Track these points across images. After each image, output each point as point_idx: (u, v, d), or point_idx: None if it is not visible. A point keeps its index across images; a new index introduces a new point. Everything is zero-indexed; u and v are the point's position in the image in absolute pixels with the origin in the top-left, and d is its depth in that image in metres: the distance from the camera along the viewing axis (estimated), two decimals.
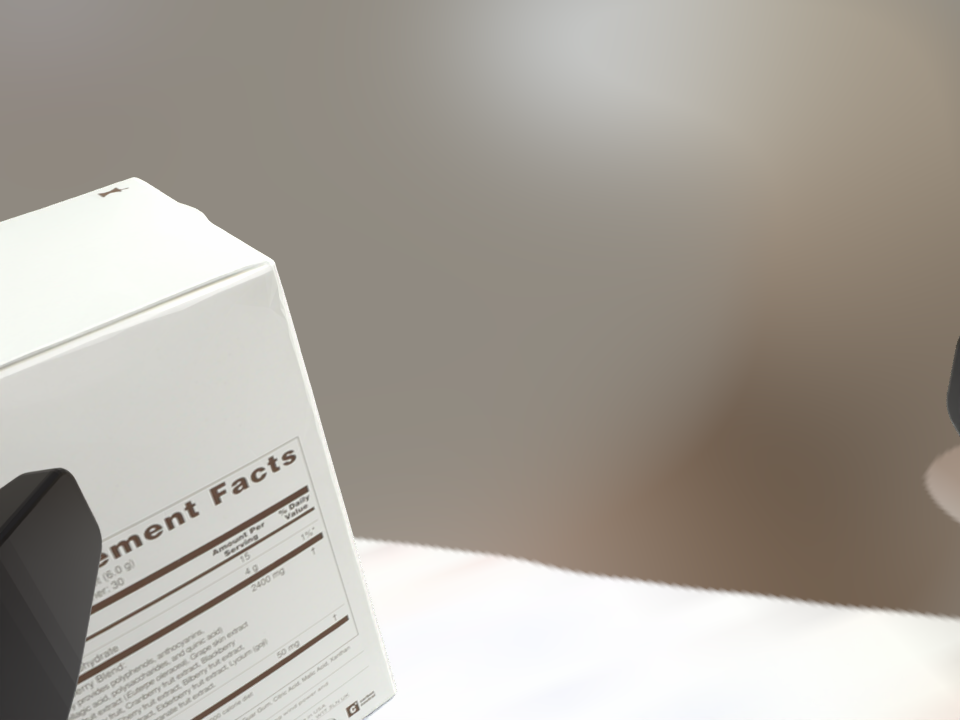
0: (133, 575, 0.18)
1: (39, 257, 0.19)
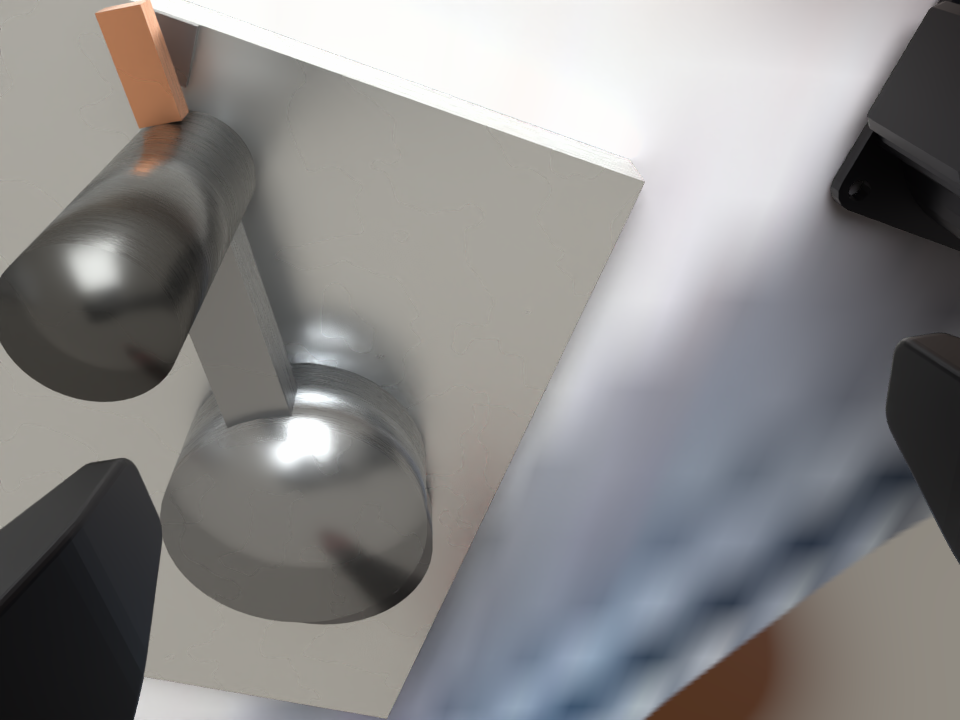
0: None
1: None
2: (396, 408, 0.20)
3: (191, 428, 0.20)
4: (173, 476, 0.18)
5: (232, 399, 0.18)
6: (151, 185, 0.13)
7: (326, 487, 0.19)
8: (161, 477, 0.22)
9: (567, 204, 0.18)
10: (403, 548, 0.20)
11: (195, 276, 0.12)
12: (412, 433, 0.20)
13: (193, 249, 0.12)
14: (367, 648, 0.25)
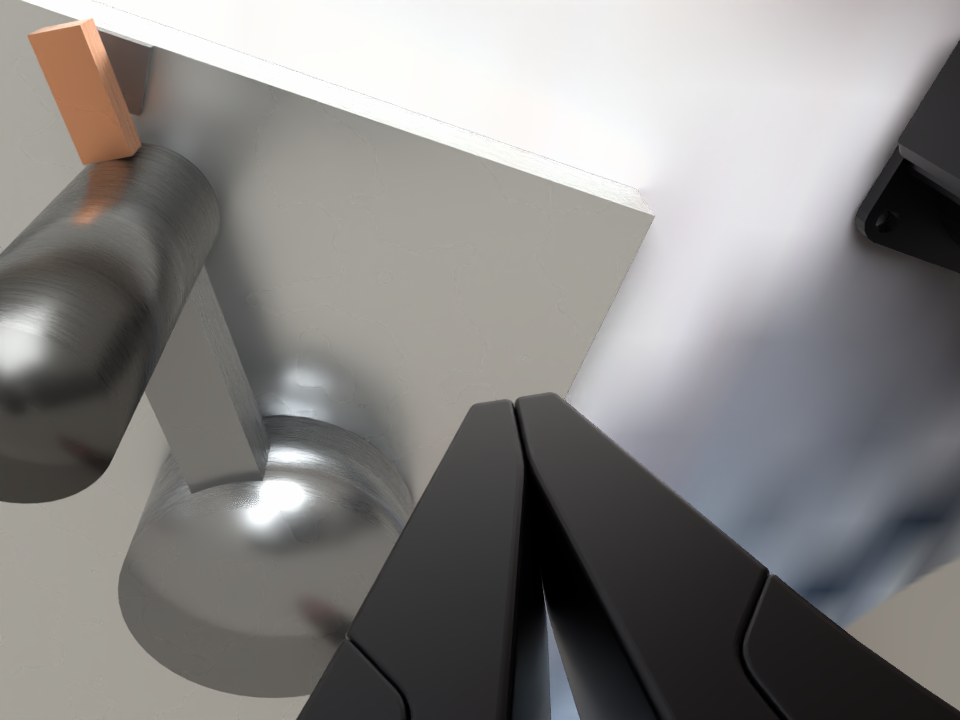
0: None
1: None
2: (381, 463, 0.18)
3: (153, 488, 0.18)
4: (131, 547, 0.16)
5: (196, 463, 0.16)
6: (88, 241, 0.11)
7: (303, 556, 0.17)
8: (123, 537, 0.20)
9: (569, 241, 0.17)
10: None
11: (139, 351, 0.10)
12: (398, 490, 0.18)
13: (137, 317, 0.11)
14: None
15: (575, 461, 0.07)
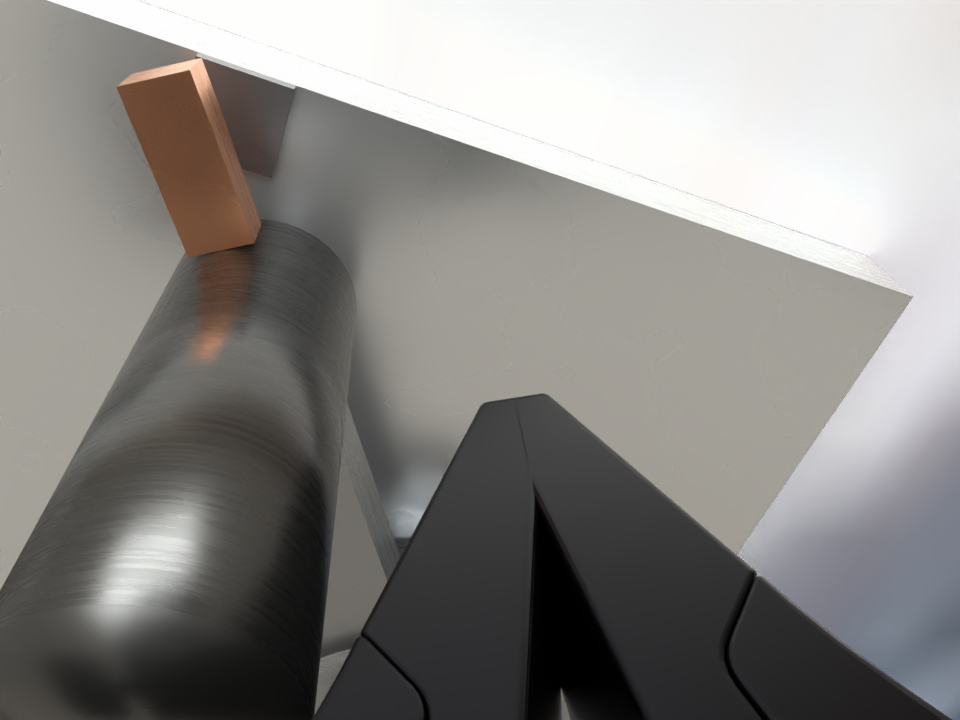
0: None
1: None
2: None
3: None
4: None
5: (326, 624, 0.12)
6: (231, 399, 0.07)
7: None
8: None
9: (800, 328, 0.13)
10: None
11: (320, 576, 0.07)
12: None
13: (312, 519, 0.07)
14: None
15: (565, 462, 0.07)
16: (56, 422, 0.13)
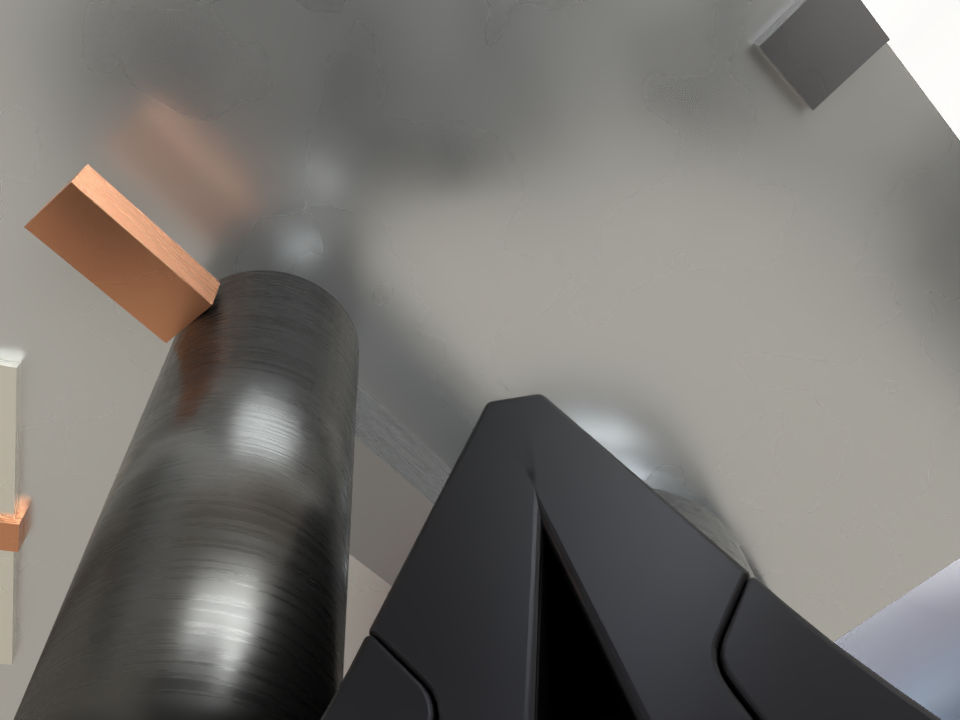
0: None
1: None
2: (674, 506, 0.14)
3: None
4: None
5: None
6: (183, 468, 0.07)
7: None
8: None
9: None
10: None
11: (305, 603, 0.07)
12: (710, 530, 0.14)
13: (285, 551, 0.07)
14: None
15: (560, 463, 0.07)
16: (439, 263, 0.12)
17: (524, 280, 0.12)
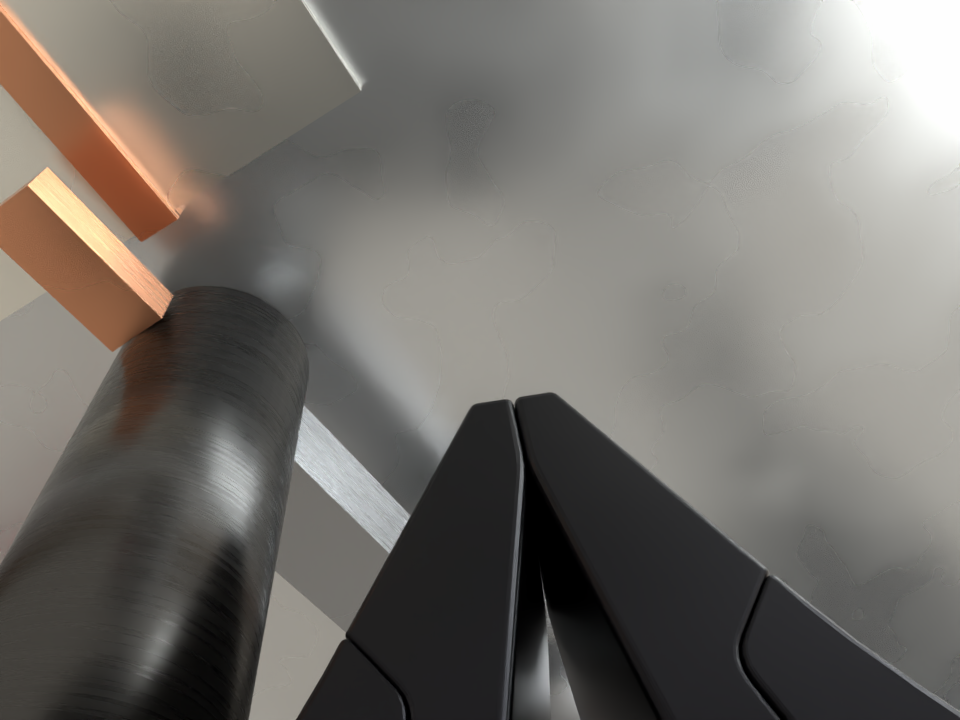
0: None
1: None
2: None
3: None
4: None
5: None
6: (109, 489, 0.07)
7: (559, 709, 0.13)
8: (413, 508, 0.14)
9: None
10: None
11: (216, 638, 0.07)
12: None
13: (202, 583, 0.07)
14: None
15: (575, 461, 0.07)
16: (733, 303, 0.13)
17: (763, 363, 0.13)
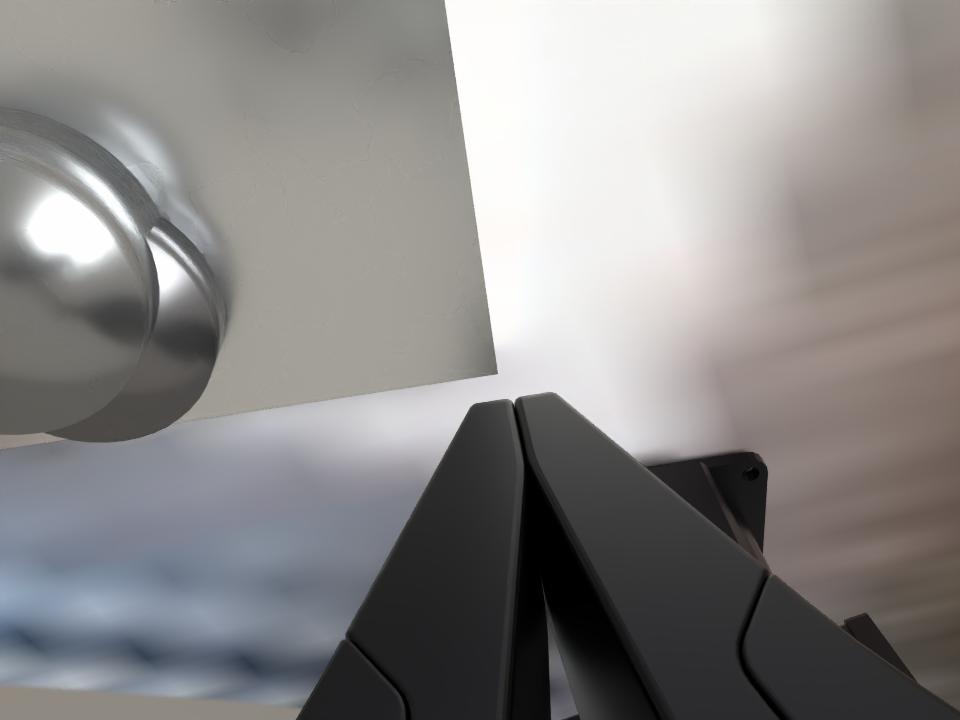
0: None
1: None
2: (44, 124, 0.16)
3: None
4: None
5: None
6: None
7: None
8: None
9: (447, 331, 0.20)
10: (104, 275, 0.16)
11: None
12: (74, 145, 0.16)
13: None
14: None
15: (575, 461, 0.07)
16: None
17: None
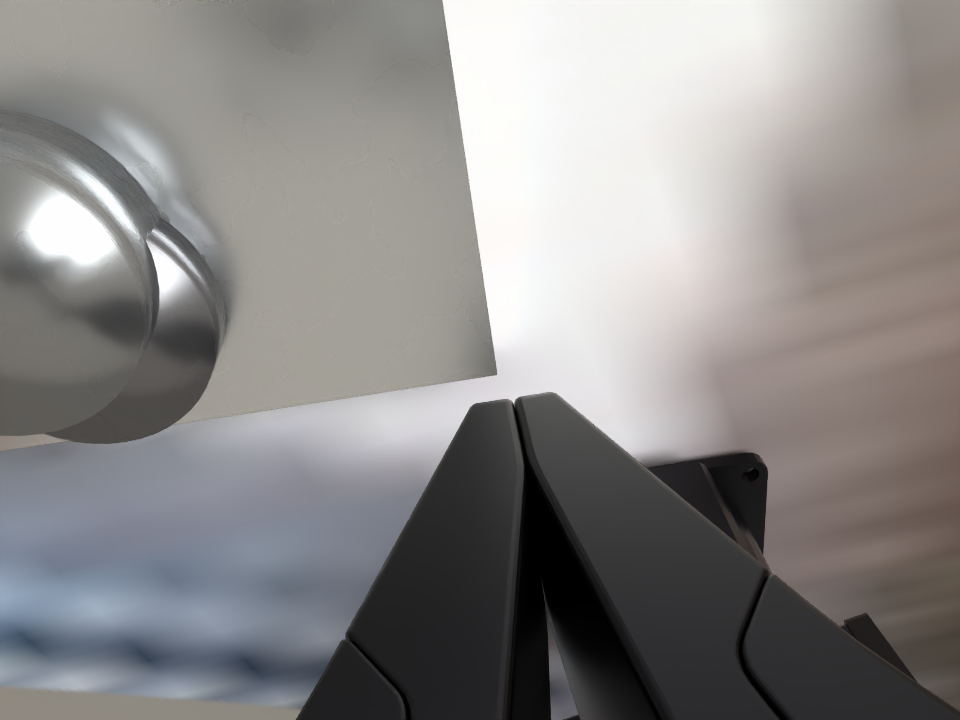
0: None
1: None
2: (45, 127, 0.16)
3: None
4: None
5: None
6: None
7: None
8: None
9: (446, 332, 0.20)
10: (103, 276, 0.16)
11: None
12: (74, 147, 0.16)
13: None
14: None
15: (575, 461, 0.07)
16: None
17: None
